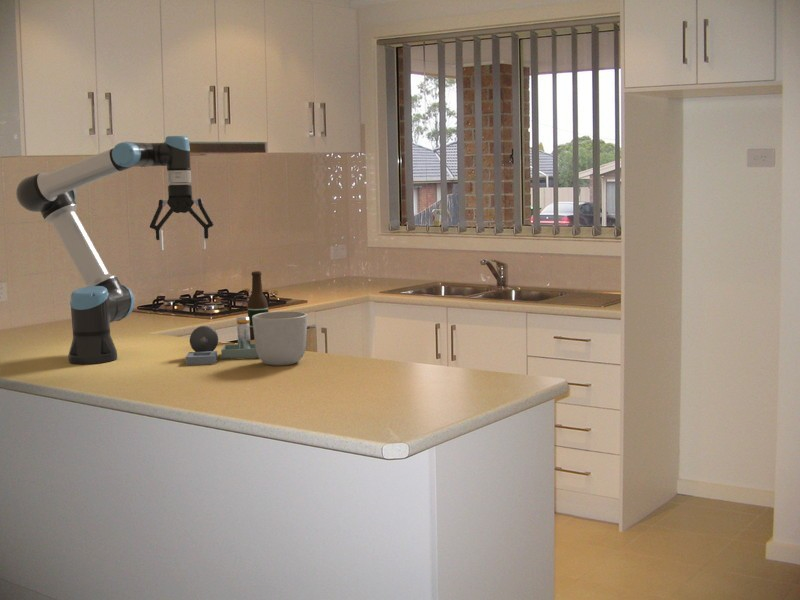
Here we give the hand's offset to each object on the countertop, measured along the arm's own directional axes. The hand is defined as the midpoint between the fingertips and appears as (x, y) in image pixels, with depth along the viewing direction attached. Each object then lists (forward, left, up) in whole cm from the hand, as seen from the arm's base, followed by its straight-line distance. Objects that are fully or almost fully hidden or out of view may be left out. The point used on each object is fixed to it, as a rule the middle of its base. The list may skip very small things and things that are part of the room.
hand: (183, 249), depth 330 cm
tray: (+19, -7, -35) cm, 40 cm away
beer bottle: (+22, +28, -35) cm, 50 cm away
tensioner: (+6, -11, -35) cm, 37 cm away
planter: (+31, -23, -35) cm, 52 cm away
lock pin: (+19, -7, -34) cm, 40 cm away
